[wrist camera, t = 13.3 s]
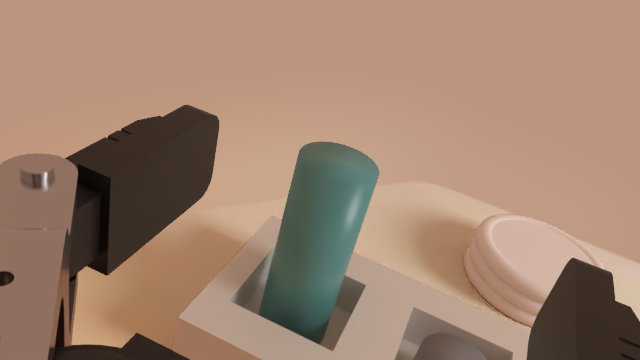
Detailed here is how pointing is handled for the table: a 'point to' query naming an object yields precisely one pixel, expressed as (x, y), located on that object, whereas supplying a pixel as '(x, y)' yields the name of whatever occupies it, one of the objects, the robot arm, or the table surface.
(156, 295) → the table surface
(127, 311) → the table surface
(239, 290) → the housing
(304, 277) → the teal cylinder
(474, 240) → the coaster
